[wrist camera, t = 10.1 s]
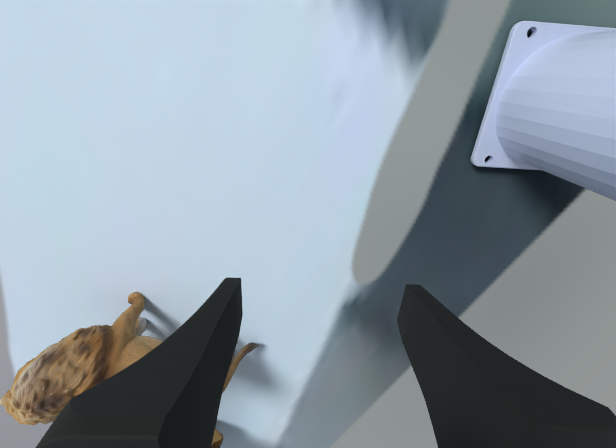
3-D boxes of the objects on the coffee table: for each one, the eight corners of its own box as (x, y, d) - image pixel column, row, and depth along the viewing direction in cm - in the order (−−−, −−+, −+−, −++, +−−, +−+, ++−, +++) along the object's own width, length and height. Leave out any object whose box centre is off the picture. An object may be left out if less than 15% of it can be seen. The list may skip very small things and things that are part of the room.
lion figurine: (85, 326, 26) (-9, 439, 18) (85, 278, 24) (-24, 383, 16) (253, 358, 28) (234, 471, 20) (266, 317, 26) (252, 426, 18)
